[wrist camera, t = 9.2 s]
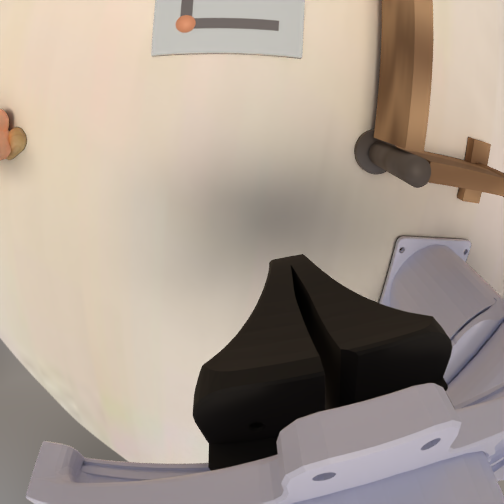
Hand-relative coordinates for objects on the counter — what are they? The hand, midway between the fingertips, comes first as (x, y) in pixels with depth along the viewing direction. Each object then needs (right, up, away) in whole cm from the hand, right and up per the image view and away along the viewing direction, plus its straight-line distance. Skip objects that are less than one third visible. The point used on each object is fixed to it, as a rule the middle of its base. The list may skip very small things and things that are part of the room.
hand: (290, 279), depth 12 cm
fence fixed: (+11, +8, +7) cm, 15 cm away
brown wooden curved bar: (+7, +13, +4) cm, 15 cm away
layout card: (-3, +17, +2) cm, 17 cm away
